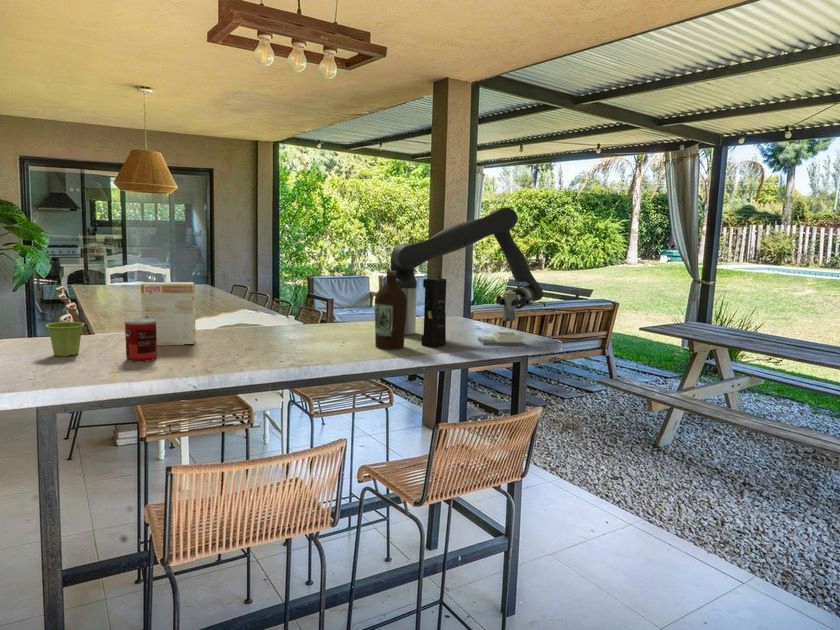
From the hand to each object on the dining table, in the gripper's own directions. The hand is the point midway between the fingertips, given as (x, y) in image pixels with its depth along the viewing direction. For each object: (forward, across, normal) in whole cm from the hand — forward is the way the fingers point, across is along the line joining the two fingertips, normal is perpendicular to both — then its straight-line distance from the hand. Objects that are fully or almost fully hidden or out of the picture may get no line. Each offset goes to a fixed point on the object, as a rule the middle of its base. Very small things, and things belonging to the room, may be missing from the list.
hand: (507, 302), depth 205 cm
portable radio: (+17, -21, +15) cm, 30 cm away
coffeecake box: (+60, -94, +14) cm, 112 cm away
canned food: (+81, -83, +14) cm, 117 cm away
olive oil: (+27, -32, +14) cm, 44 cm away
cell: (-3, 0, +6) cm, 7 cm away
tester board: (-1, -2, +15) cm, 15 cm away
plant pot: (+87, -105, +14) cm, 137 cm away
